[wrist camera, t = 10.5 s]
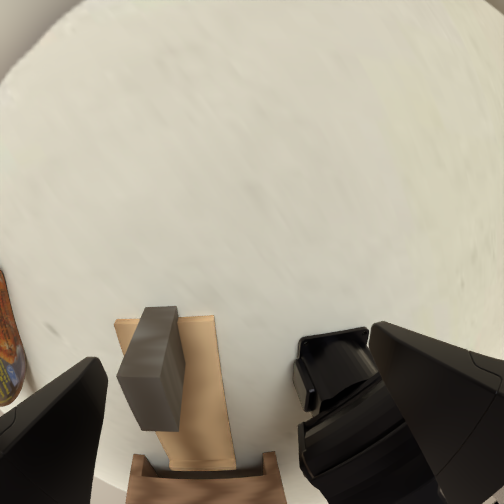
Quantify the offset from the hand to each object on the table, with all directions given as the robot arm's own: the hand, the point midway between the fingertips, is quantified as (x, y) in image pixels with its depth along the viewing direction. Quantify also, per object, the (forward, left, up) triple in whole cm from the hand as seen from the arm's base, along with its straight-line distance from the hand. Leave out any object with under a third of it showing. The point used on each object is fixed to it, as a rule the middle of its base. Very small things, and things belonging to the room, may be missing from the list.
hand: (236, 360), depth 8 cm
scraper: (+5, +16, -12) cm, 20 cm away
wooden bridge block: (+5, +31, -12) cm, 34 cm away
